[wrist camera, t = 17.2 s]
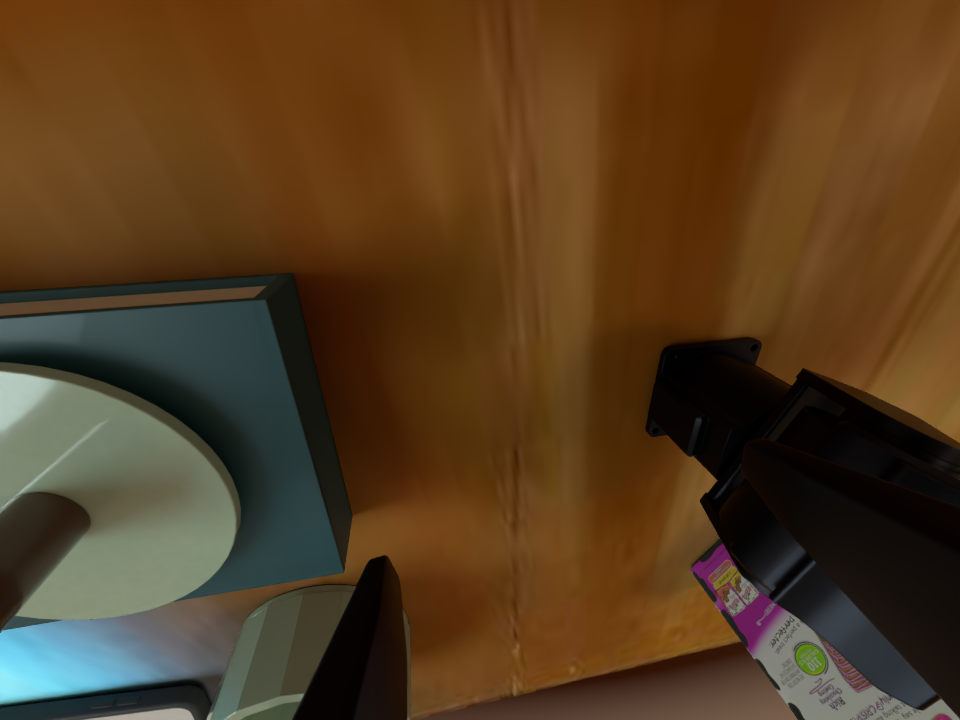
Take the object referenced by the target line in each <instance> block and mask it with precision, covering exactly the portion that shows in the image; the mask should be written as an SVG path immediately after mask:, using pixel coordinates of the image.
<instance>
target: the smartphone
mask: <svg viewBox="0 0 960 720" xmlns="http://www.w3.org/2000/svg"><path fill="white" fill-rule="evenodd" d="M210 709H211V706H210V703H209V701H208V699H207V696H206V694H205V692H204V691H203V690H202V689H201V688H199V687H196V686H191V685H185V686H176V687H168V688H159V689H151V690H143V691H134V692H126V693H118V694H109V695H101V696H93V697H84V698H76V699H68V700H59V701H51V702H43V703H34V704H26V705H18V706H9V707H1V708H0V720H207V717H208V715H209V712H210Z"/></svg>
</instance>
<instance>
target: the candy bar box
mask: <svg viewBox="0 0 960 720" xmlns="http://www.w3.org/2000/svg"><path fill="white" fill-rule="evenodd" d="M690 570H691V572H692V573H693V574H694V576H695V577H696V579H697V580H698V582H699V583H700V584H701V586H702V587H703V589H704V590H705V591H706V593H707V594H708V596H709V597H710V598H711V600H712V601H713V602H714V604H715V605H716V607H717V608H718V609H719V611H720V612H721V613H722V615H723V616H724V618H725V619H726V620H727V622H728V623H729V624H730V626H731V627H732V629H733V630H734V632H735V633H736V634H737V636H738V637H739V638H740V640H741V641H742V643H743V644H744V645H745V646H746V648H747V649H748V651H749V652H750V654H751V655H752V656H753V658H754V659H755V661H756V662H757V663H758V664H759V666H760V667H761V669H762V670H763V671H764V673H765V674H766V675H767V677H768V678H769V679H770V681H771V682H772V684H773V685H774V686H775V688H776V690H777V691H778V693H779V694H780V695H781V697H782V698H783V699H784V701H785V702H786V704H787V705H788V706H789V708H790V709H791V710H792V712H793V713H794V714H795V716H796V718H797V719H798V720H960V719H959V718H958V717H957V716H956V714H955V713H954V712H953V711H952V710H951V709H950V708H949V707H948V706H947V705H946V704H945V702H944V701H943V700H942V699H940V700H939V701H937V702H936V703H934V704H933V705H931V706H930V707H929V708H927V709H926V710H923V711H921V710H917V709H914V708H912V707H910V706H908V705H906V704H905V703H903V702H901V701H899V700H897V699H895V698H893V697H891V696H890V695H888V694H886V693H884V692H882V691H880V690H879V689H877V688H876V687H874V686H873V685H872V684H871V683H870V682H869V681H868V680H867V679H866V678H865V677H864V676H863V675H862V674H861V673H859V672H858V671H857V670H856V669H855V668H854V667H853V666H852V665H851V664H850V663H849V662H848V661H847V660H846V659H845V658H844V657H843V656H842V655H841V654H840V653H838V652H837V651H836V650H835V649H834V648H833V647H832V646H831V645H830V644H829V643H827V642H826V641H825V640H824V639H823V638H822V637H821V636H819V635H818V634H817V633H816V632H814V631H813V630H812V629H811V628H809V627H808V626H807V625H806V624H804V623H803V622H802V621H801V620H799V619H798V618H797V617H795V616H794V615H792V614H791V613H789V612H788V611H786V610H785V609H783V608H782V607H780V606H779V605H777V604H776V603H774V602H773V601H772V600H771V599H769V598H768V597H766V596H765V595H764V594H763V593H762V592H760V591H759V590H758V589H757V588H756V587H755V586H753V585H752V584H751V583H750V582H749V581H748V580H746V579H745V578H744V577H743V576H742V575H741V574H740V572H739V570H738V568H737V567H736V565H735V564H734V562H733V560H732V559H731V557H730V555H729V553H728V552H727V550H726V548H725V546H724V544H723V543H722V541H721V539H720V540H719V541H718V542H717V543H716V544H715V545H714V546H713V547H712V548H711V549H710V550H709V551H708V552H707V553H706V554H705V555H704V556H702V557H701V558H700V559H699V560H698V561H697V562H696V563H695V564H694V565H693V566H692V568H691V569H690Z"/></svg>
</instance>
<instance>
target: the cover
mask: <svg viewBox="0 0 960 720" xmlns="http://www.w3.org/2000/svg"><path fill="white" fill-rule="evenodd" d="M240 523H241V507H240V501H239V496H238V492H237V489H236V487H235V484H234V482H233V479H232V477H231V475H230V474H229V472H228V470H227V468H226V467H225V465H224V463H223V462H222V461H221V460H220V458H219V457H218V456H217V454H216V453H215V452H214V451H213V449H212V448H211V447H210V446H209V445H208V444H207V443H206V442H205V441H204V440H203V439H202V438H201V437H199V436H198V435H197V434H196V433H195V432H194V431H193V430H191V429H190V428H189V427H187V426H186V425H185V424H184V423H182V422H181V421H180V420H178V419H177V418H175V417H174V416H172V415H171V414H169V413H167V412H166V411H164V410H163V409H161V408H159V407H158V406H156V405H154V404H152V403H150V402H148V401H146V400H144V399H142V398H140V397H138V396H136V395H134V394H132V393H130V392H128V391H125V390H123V389H120V388H118V387H115V386H113V385H110V384H107V383H105V382H102V381H99V380H95V379H92V378H89V377H85V376H82V375H79V374H75V373H71V372H67V371H62V370H57V369H52V368H47V367H43V366H35V365H26V364H18V363H7V362H0V633H1V632H2V630H3V629H4V628H5V627H6V626H7V625H8V623H9V622H10V621H11V620H12V619H13V618H14V616H21V617H30V618H39V619H56V620H88V619H100V618H111V617H117V616H124V615H130V614H134V613H138V612H143V611H147V610H151V609H154V608H157V607H160V606H163V605H166V604H168V603H170V602H173V601H175V600H177V599H179V598H182V597H184V596H185V595H187V594H189V593H191V592H192V591H194V590H196V589H197V588H199V587H200V586H201V585H203V584H204V583H205V582H206V581H208V580H209V579H210V578H211V577H212V576H213V575H214V574H215V573H216V572H217V571H218V570H219V569H220V568H221V566H222V565H223V564H224V562H225V561H226V559H227V558H228V556H229V554H230V552H231V550H232V547H233V545H234V543H235V541H236V538H237V536H238V532H239V527H240Z"/></svg>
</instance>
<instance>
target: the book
mask: <svg viewBox="0 0 960 720" xmlns="http://www.w3.org/2000/svg"><path fill="white" fill-rule="evenodd" d="M0 362H7V363H18V364H26V365H35V366H43V367H47V368H52V369H57V370H62V371H67V372H71V373H75V374H79V375H82V376H85V377H89V378H92V379H95V380H99V381H102V382H105V383H107V384H110V385H113V386H115V387H118V388H120V389H123V390H125V391H128V392H130V393H132V394H134V395H136V396H138V397H140V398H142V399H144V400H146V401H148V402H150V403H152V404H154V405H156V406H158V407H159V408H161V409H163V410H164V411H166V412H167V413H169V414H171V415H172V416H174V417H175V418H177V419H178V420H180V421H181V422H182V423H184V424H185V425H186V426H187V427H189V428H190V429H191V430H193V431H194V432H195V433H196V434H197V435H198V436H199V437H201V438H202V439H203V440H204V441H205V442H206V443H207V444H208V445H209V446H210V447H211V448H212V449H213V451H214V452H215V453H216V454H217V456H218V457H219V458H220V460H221V461H222V462H223V463H224V465H225V467H226V468H227V470H228V472H229V474H230V475H231V477H232V479H233V482H234V484H235V487H236V489H237V492H238V496H239V501H240V507H241V523H240V527H239V532H238V536H237V538H236V541H235V543H234V545H233V547H232V550H231V552H230V554H229V556H228V558H227V559H226V561H225V562H224V564H223V565H222V566H221V568H220V569H219V570H218V571H217V572H216V573H215V574H214V575H213V576H212V577H211V578H210V579H209V580H208V581H206V582H205V583H204V584H203V585H201V586H200V587H199V588H197V589H196V590H194V591H192V592H191V593H189V594H187V595H185V596H184V597H182V598H179V599H177V600H175V601H179V600H185V599H191V598H197V597H203V596H209V595H215V594H220V593H226V592H232V591H238V590H244V589H250V588H256V587H262V586H268V585H274V584H280V583H285V582H291V581H297V580H303V579H309V578H315V577H321V576H327V575H333V574H339V573H344V570H345V562H346V556H347V549H348V542H349V535H350V529H351V522H352V512H351V508H350V504H349V500H348V496H347V492H346V488H345V484H344V480H343V476H342V471H341V467H340V463H339V459H338V455H337V451H336V447H335V443H334V439H333V435H332V431H331V427H330V422H329V418H328V414H327V410H326V406H325V402H324V398H323V394H322V390H321V386H320V382H319V378H318V373H317V369H316V365H315V361H314V357H313V353H312V349H311V345H310V341H309V337H308V333H307V329H306V324H305V320H304V316H303V312H302V308H301V304H300V300H299V296H298V292H297V288H296V284H295V280H294V276H293V273H288V274H272V275H257V276H241V277H225V278H209V279H194V280H178V281H162V282H147V283H131V284H115V285H99V286H84V287H68V288H52V289H36V290H21V291H5V292H0ZM55 621H61V620H56V619H39V618H30V617H21V616H14V618H13V619H12V620H11V621H10V622H9V623H8V625H7V626H6V627H5V628H4V629H3V630H7V629H13V628H19V627H25V626H31V625H37V624H43V623H49V622H55Z"/></svg>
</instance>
